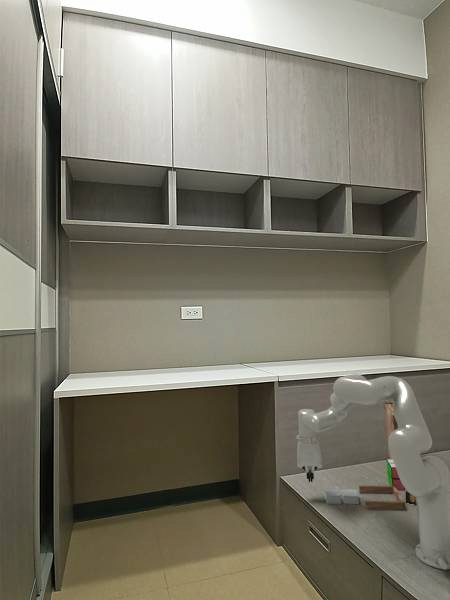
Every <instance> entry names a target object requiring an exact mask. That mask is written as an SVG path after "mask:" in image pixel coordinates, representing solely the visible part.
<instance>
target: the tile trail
mask: <svg viewBox="0 0 450 600" xmlns="http://www.w3.org/2000/svg"><path fill="white" fill-rule="evenodd" d="M323 496H324V499H325V502H326V504H329V505H334V504H335V505H336V504H337V505H338V504H342V495H341V493H340V491H339V488H330V489H328V488H327V489H323Z"/></svg>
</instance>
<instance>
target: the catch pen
mask: <svg viewBox="0 0 450 600" xmlns="http://www.w3.org/2000/svg"><path fill="white" fill-rule="evenodd" d="M358 489H359V494H367V495H368V494H370V495H371V494H375V495H379V494H381V495H383V494H384V495H386V494H387V495H389V494H390V495H393V496H394V497H395V499H396V500H395V501H393V500H365V509H366V510H373V511H375V510H376V511H377V510H381V511H383V510H384V511H406V509H407V508H406V501H405V500H404V499H403V497H402V495H401V494H400V492H399V490H397V489H396V488H395V486H391V485H358Z"/></svg>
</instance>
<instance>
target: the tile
mask: <svg viewBox="0 0 450 600" xmlns="http://www.w3.org/2000/svg"><path fill="white" fill-rule="evenodd" d="M341 490H342V499H343V504H344V505H345V504H347V505H349V504H350V505H359V504H360V501H359V493H358V490H357V489H350V488H349V489H347V488H345V489H343V488H342V489H341Z"/></svg>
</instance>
